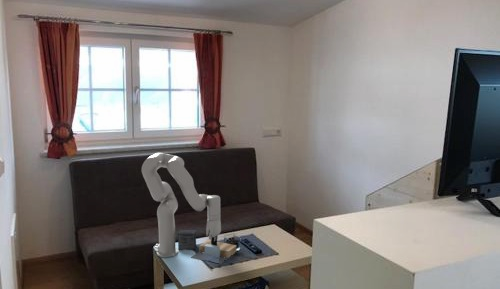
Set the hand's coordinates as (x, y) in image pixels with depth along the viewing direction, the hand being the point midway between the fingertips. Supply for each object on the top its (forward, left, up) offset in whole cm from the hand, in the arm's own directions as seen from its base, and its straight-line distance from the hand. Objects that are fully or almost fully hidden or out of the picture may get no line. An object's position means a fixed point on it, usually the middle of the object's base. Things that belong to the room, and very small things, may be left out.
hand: (214, 246), depth 231 cm
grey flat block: (0, -1, -2) cm, 2 cm away
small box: (-20, +1, -5) cm, 21 cm away
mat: (0, -5, -5) cm, 7 cm away
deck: (0, +4, -5) cm, 7 cm away
